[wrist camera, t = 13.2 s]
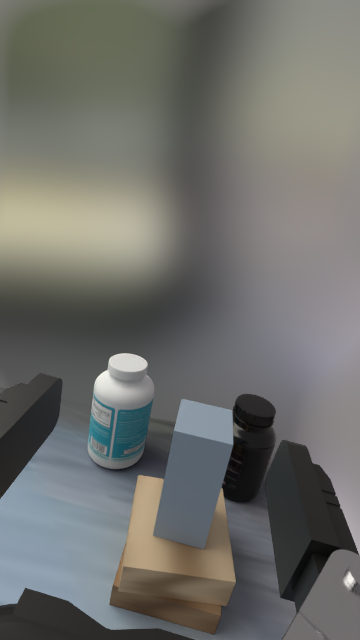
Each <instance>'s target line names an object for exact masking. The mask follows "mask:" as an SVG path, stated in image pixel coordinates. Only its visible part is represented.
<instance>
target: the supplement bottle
mask: <svg viewBox="0 0 360 640" xmlns="http://www.w3.org/2000/svg"><path fill="white" fill-rule="evenodd" d="M275 414H276V410H275V408H274V406H273V405H272V404H271V403H270V402H269V401H267V400H266V399H264V398H262V397H260V396H257V395H252V394H242V395H240V396H238V398H237V399H236V402H235V406H234V407H233V411H232V417H233V448H232V451H231V455H230V458H229V462H228V466H227V469H226V473H225V476H224V480H223V483H222V487H221V488H223V495H224V497H226V498H228V499H230V500H233V501H239V502H243V501H248V500H251V499H252V498H254V497H255V496H256V495H257V493H258V492H259V489H260V486H261V484H262V481H263V478H264V475H265V472H266V469H267V466H268V463H269V460H270V458H271V455H272V452H273V449H274V446H275V442H276V435H275V431H274V429H273V427H272V425H273V422H274V417H275Z"/></svg>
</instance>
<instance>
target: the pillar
mask: <svg viewBox="0 0 360 640" xmlns="http://www.w3.org/2000/svg"><path fill="white" fill-rule="evenodd" d="M232 448H233V417H232V410H228V409H224V408H220V407H215V406H211V405H207V404H202V403H198V402H194V401H189V400H185V399H182V400H181V404H180V408H179V412H178V416H177V421H176V425H175V429H174V433H173V438H172V443H171V448H170V453H169V458H168V463H167V468H166V472H165V477H164V482H163V487H162V492H161V497H160V502H159V507H158V512H157V517H156V522H155V527H154V531H153V536H156V537H160V538H163V539H167V540H171V541H175V542H178V543H182V544H186V545H190V546H193V547H197V548H201V549H204V548H205V544H206V540H207V537H208V533H209V530H210V526H211V523H212V519H213V515H214V512H215V508H216V505H217V501H218V498H219V494H220V491H221V487H222V483H223V480H224V476H225V473H226V469H227V466H228V462H229V458H230V455H231V451H232Z"/></svg>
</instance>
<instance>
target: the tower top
mask: <svg viewBox="0 0 360 640" xmlns="http://www.w3.org/2000/svg"><path fill="white" fill-rule="evenodd" d="M163 482H164V479H160V478H154V477H148V476H142V475H138V478H137V483H136V488H135V493H134V499H133V505H132V511H131V517H130V523H129V529H128V535H127V541H126V547H125V553H124V559H123V565H122V571H121V577H120V583H119V589H118V591H120V592H127V593H135V594H142V595H149V596H157V597H164V598H171V599H178V600H186V601H193V602H200V603H208V604H215V605H222V606H227V604H228V602H229V599H230V596H231V594H232V591H233V588H234V586H235V583H236V579H235V572H234V565H233V558H232V551H231V544H230V537H229V530H228V523H227V516H226V509H225V502H224V495H223V488H221V491H220V494H219V498H218V501H217V505H216V508H215V512H214V515H213V519H212V523H211V526H210V530H209V533H208V537H207V540H206V544H205V548H204V549H201V548H197V547H193V546H190V545H186V544H182V543H178V542H175V541H171V540H167V539H163V538H160V537H156V536H153V531H154V527H155V522H156V517H157V512H158V507H159V502H160V497H161V492H162V487H163Z"/></svg>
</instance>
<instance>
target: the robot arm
mask: <svg viewBox="0 0 360 640" xmlns="http://www.w3.org/2000/svg"><path fill="white" fill-rule="evenodd" d="M61 392H62V380H61V379H60V378H57V377H53V376H49V375H46V374H42V373H40V374H38V375H37V376H36V377H35V378H34V379H33V380H31V381H30V382H29V383H28V384H23V383H20V384H17V385H15V386H13V387H10V388H8V389H6V390H5V391H3V392H2V393H1V394H0V498H1V497H2V496H3V495H4V493H5V492H6V491H7V489H8V488H9V487H10V485H11V484H12V483H13V482H14V480H15V479H16V478H17V476H18V475H19V474H20V472H21V471H22V470H23V469H24V467H25V466H26V465H27V463H28V462H29V461H30V459H31V458H32V457H33V456H34V454H35V453H36V452H37V450H38V449H39V448H40V446H41V445H42V444H43V443H44V441H45V440H46V439H47V437H48V436H49V435H50V433H51V432H52V431H53V429H54V427H55V425H56V423H57V420H58V417H59V412H60V402H61ZM265 489H266V498H267V505H268V513H269V520H270V527H271V534H272V541H273V548H274V555H275V563H276V570H277V577H278V584H279V591H280V598H283V599H287V600H290V601H294V602H295V606H296V612H297V614H296V616H295V617H294V619H293V621H292V623H291V624H290V626H289V628H288V630H287V631H286V633H285V635H284V637H283V638H282V640H360V556H359V554H358V551H357V548H356V546H355V543H354V540H353V538H352V535H351V533H350V530H349V527H348V525H347V522H346V519H345V517H344V514H343V512H342V509H340V504H339V501H338V498H337V497H336V496H335V494H336V493H335V491H334V488H333V486H332V483H331V480H330V478H329V477H328V476H327V474H326V473H325V472H324V471H323V469H322V468H321V467H320V466H319V465H317V464H313V463H312V461H311V458H310V455H309V452H308V449H307V447H306V446H305V445H301V444H297V443H294V442H290V441H286V440H282V441H281V443H280V445H279V447H278V450H277V452H276V454H275V457H274V459H273V462H272V464H271V466H270V469H269V471H268V474H267V478H266V487H265ZM0 640H194V639H191V638H187V637H184V636H181V635H177V634H174V633H171V632H168V631H164V630H161V629H126V630H110V629H107V628H105V627H103V626H102V625H101V624H99V623H98V622H96V621H95V620H94V619H92V618H91V617H89V616H88V615H87V614H85V613H84V612H83V611H81V610H80V609H78V608H77V607H76V606H74V605H73V604H71V603H70V602H69V601H66V600H63V599H60V598H57V597H53V596H50V595H47V594H44V593H40V592H37V591H34V590H30V589H27V588H25V590H24V592H23V593H22V595H21V597H20V599H19V601H18V603H17V604H8V605H2V606H0Z"/></svg>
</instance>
